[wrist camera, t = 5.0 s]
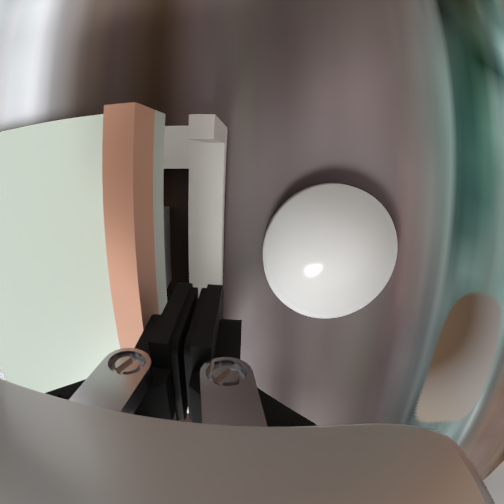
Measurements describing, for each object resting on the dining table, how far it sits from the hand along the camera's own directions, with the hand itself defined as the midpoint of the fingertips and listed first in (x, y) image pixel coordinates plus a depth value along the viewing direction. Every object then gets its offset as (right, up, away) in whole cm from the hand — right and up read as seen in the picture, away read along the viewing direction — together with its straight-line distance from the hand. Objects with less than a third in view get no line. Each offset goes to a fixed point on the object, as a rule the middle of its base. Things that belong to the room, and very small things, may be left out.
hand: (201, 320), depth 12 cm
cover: (-7, +1, +2) cm, 7 cm away
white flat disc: (+7, +3, +9) cm, 12 cm away
